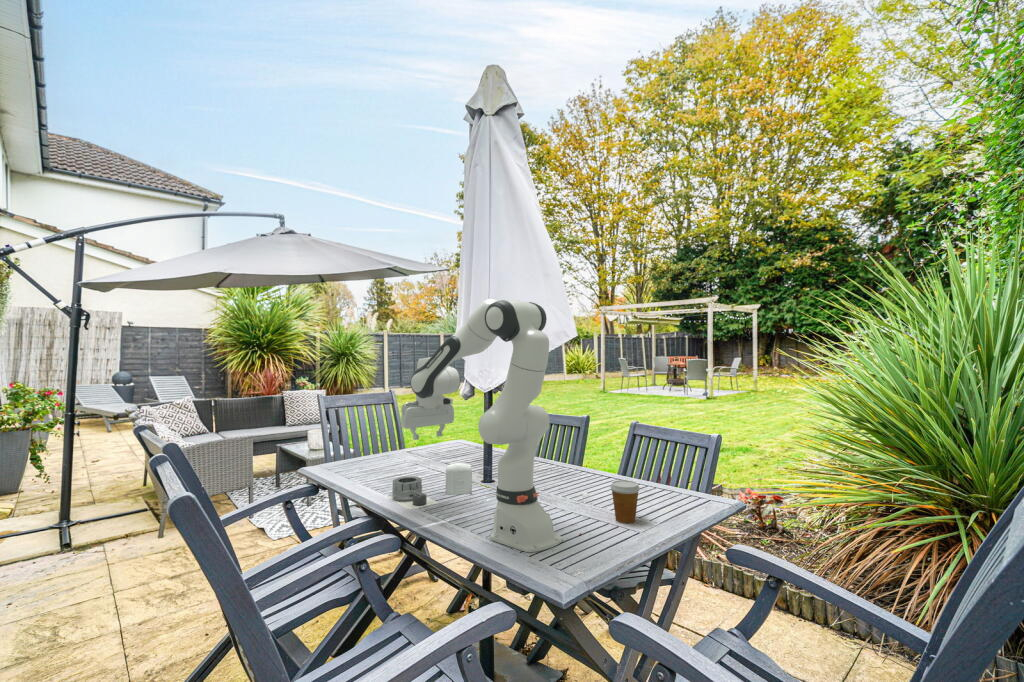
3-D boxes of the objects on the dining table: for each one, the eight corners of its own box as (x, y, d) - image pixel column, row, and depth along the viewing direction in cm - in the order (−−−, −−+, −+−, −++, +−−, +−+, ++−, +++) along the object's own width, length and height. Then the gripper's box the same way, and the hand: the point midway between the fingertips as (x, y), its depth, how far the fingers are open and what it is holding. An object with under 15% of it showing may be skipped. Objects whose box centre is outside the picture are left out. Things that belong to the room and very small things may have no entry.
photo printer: (471, 492, 192) (471, 461, 193) (472, 496, 188) (472, 464, 188) (445, 494, 191) (445, 462, 191) (445, 497, 187) (445, 465, 187)
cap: (429, 504, 175) (428, 494, 175) (416, 507, 172) (416, 497, 172) (422, 500, 179) (422, 491, 179) (410, 503, 176) (410, 493, 176)
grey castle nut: (427, 497, 183) (427, 480, 183) (400, 503, 176) (400, 485, 176) (414, 491, 191) (414, 474, 192) (387, 496, 185) (387, 479, 185)
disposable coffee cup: (608, 515, 165) (608, 479, 165) (637, 515, 164) (636, 479, 165) (612, 525, 156) (612, 487, 156) (643, 525, 155) (642, 487, 155)
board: (438, 505, 177) (438, 502, 177) (408, 512, 169) (408, 509, 169) (415, 493, 192) (415, 491, 192) (386, 499, 184) (386, 497, 184)
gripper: (405, 404, 168) (405, 443, 169) (456, 399, 180) (456, 436, 181) (397, 401, 173) (397, 439, 174) (448, 396, 185) (447, 432, 186)
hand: (427, 437), depth 177 cm, fingers open, 8 cm apart
